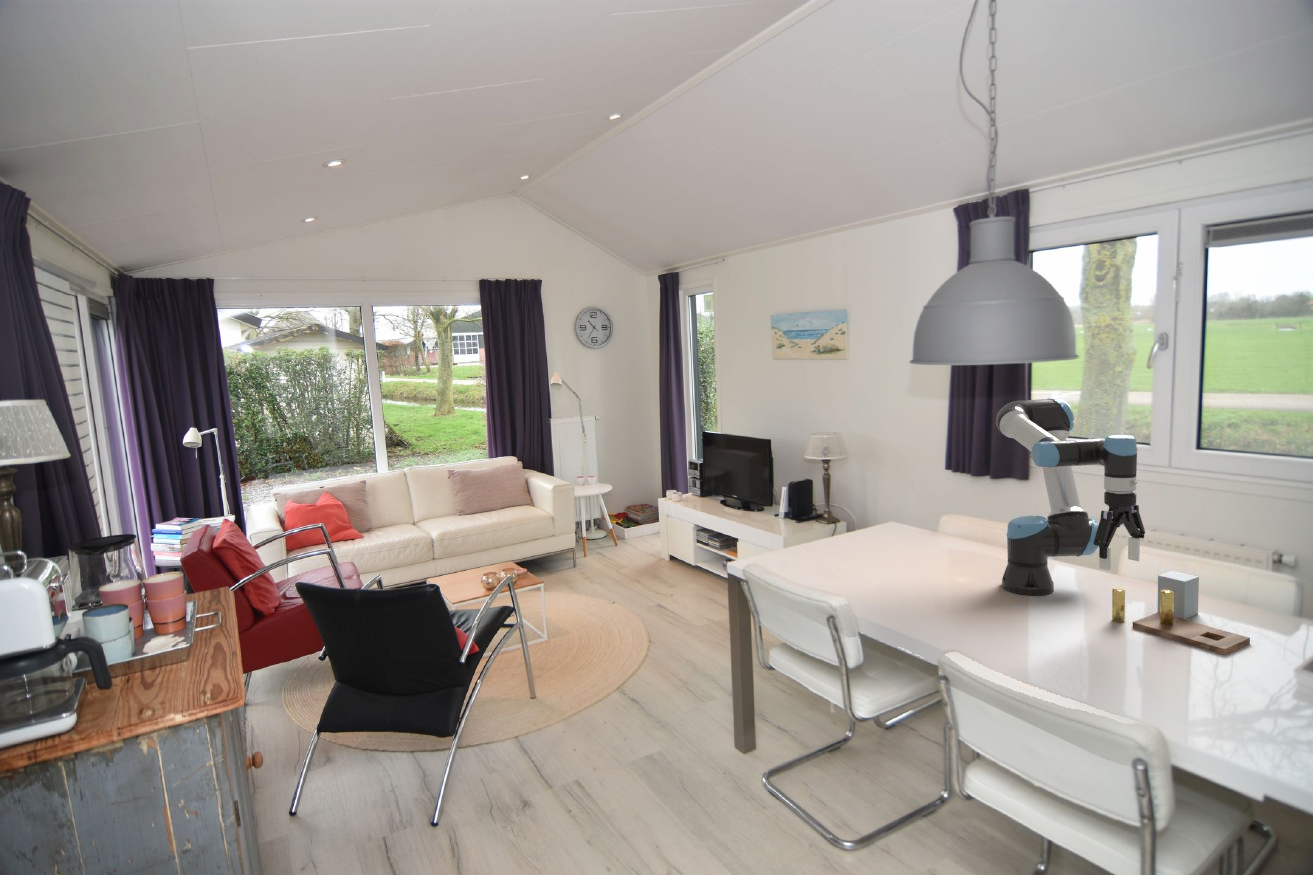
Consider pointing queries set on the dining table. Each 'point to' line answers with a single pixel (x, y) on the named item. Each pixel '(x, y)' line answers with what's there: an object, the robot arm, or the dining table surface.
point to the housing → (1181, 592)
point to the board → (1193, 634)
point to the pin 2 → (1166, 607)
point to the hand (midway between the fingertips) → (1119, 564)
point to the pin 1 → (1118, 605)
